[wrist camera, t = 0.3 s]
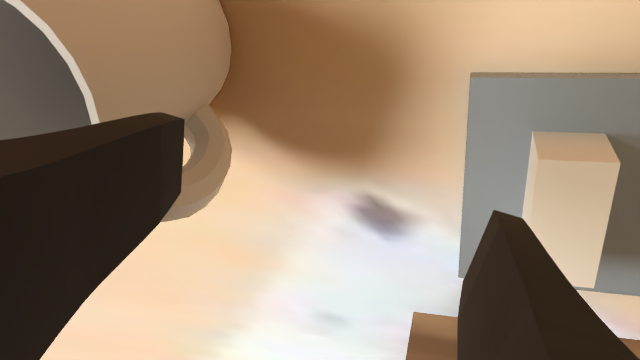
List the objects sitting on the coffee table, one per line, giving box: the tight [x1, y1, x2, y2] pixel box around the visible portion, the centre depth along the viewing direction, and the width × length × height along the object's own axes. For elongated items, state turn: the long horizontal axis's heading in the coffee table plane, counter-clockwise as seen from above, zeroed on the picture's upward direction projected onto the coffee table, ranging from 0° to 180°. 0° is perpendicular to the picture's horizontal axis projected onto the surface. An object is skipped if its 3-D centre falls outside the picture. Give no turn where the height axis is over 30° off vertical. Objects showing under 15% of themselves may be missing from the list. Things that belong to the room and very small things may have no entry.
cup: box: [0, 0, 232, 222], centre depth 18 cm, size 7×10×9 cm
